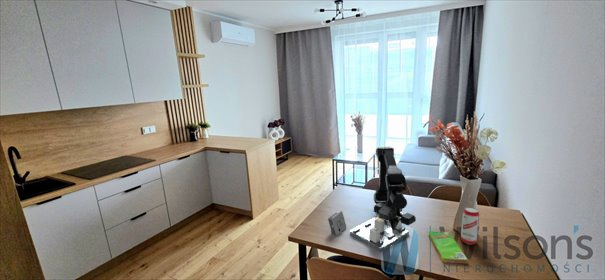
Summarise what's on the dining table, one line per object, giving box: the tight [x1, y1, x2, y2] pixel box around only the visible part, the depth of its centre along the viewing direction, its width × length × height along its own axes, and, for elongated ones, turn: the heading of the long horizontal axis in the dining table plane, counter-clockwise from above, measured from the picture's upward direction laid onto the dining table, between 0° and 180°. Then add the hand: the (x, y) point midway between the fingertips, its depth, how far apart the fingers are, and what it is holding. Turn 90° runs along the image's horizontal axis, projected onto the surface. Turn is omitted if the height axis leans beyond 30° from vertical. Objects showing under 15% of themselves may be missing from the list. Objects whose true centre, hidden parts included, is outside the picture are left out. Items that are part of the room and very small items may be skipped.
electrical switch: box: [327, 210, 347, 236], centre depth 138 cm, size 9×5×9 cm, turn 141°
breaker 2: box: [369, 227, 380, 243], centre depth 124 cm, size 3×4×6 cm, turn 36°
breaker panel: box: [349, 216, 410, 253], centre depth 133 cm, size 21×19×3 cm
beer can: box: [460, 206, 480, 245], centre depth 123 cm, size 6×6×16 cm
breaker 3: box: [396, 221, 403, 230], centre depth 134 cm, size 3×4×6 cm, turn 36°
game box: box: [428, 230, 469, 264], centre depth 121 cm, size 3×10×20 cm
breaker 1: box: [374, 216, 385, 232], centre depth 132 cm, size 3×4×6 cm, turn 36°
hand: (393, 229), depth 126 cm, fingers closed
